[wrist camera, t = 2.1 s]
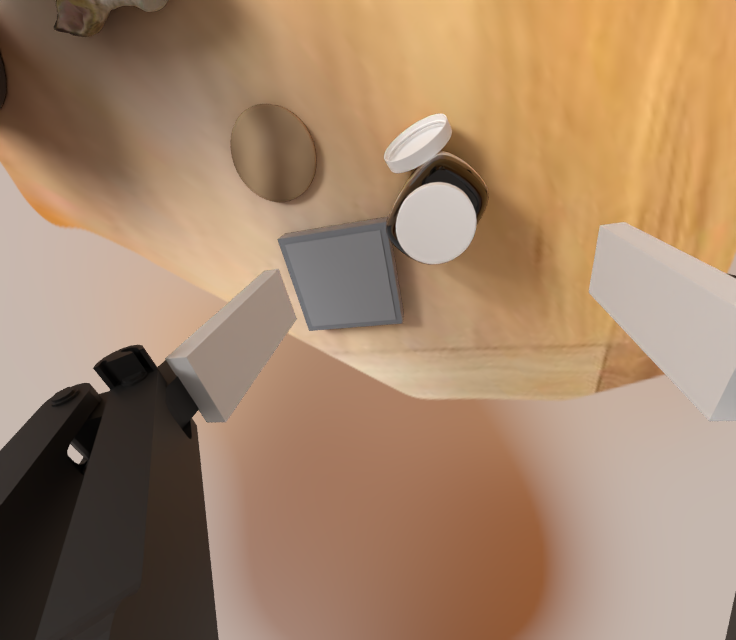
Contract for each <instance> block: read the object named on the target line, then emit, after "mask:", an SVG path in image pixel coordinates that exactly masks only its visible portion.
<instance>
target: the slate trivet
mask: <svg viewBox="0 0 736 640" xmlns="http://www.w3.org/2000/svg"><path fill="white" fill-rule="evenodd" d="M387 220H388V217H382V218H376V219H370V220H364V221H358V222H352V223H346V224H340V225H334V226H327V227H321V228H315V229H309V230H303V231H297V232H291V233H285V234H284V235H282V236H281V237H280V238H279V239H278V242H279V245H280V248H281V251H282V254H283V256H284V259H285V262H286V265H287V268H288V271H289V274H290V277H291V279H292V282H293V285H294V288H295V291H296V294H297V297H298V300H299V303H300V305H301V308H302V311H303V314H304V317H305V320H306V323H307V326H308V328H309V331H313V330H326V329H338V328H351V327H363V326H376V325H388V324H401V323H403V317H404V312H403V306H402V300H401V293H400V287H399V281H398V275H397V269H396V263H395V256H394V250H393V244H392V242H391V240H390V239H389V237H388V235H387V233H386V223H387Z"/></svg>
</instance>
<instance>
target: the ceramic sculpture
mask: <svg viewBox="0 0 736 640" xmlns="http://www.w3.org/2000/svg"><path fill="white" fill-rule="evenodd" d="M167 2H168V0H56V7H57V12H58V15H57V21H56V23H55V26H54V30H56V31H60V32H65V33H70V34H72V35H76V36H82V37H89V36H92V35H94V34H97V33H99V31H100V30H101V29H102V27H103V26H104V24H105V22H106V19H107V18H108V16H109V14H110V11H111V9H116V8H118V7H121V6H136V7H138V8H140V9H142V10H144V11H146V12H153V11H158V10H160V9H162V8H163V7H164V6H165V5H166V4H167Z"/></svg>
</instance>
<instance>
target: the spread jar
mask: <svg viewBox="0 0 736 640" xmlns="http://www.w3.org/2000/svg"><path fill="white" fill-rule="evenodd" d="M451 134H452V129H451V126H450V124H449V121H448V119H447V117H446V115H445V114H440V113H439V114H434V115H431V116H428V117H426V118H424V119H422V120H420V121H418V122H416V123H415V124H413V125H411V126H410V127H409V128H407V129H406V130H405V131H403V132H402V133H401V134H400V135H399V136H397V137H396V138H395V139H394V140H393V141H392V143H391V144H390V145H389V146H388V148H387V149H386V151H385V154H384V160H385V161H386V163H387V165H388V167H389V168H390V170H391V171H392V172H394V173H403V172H407V171H410V170H412V169H414V168H416V167H418V166H419V167H418V168H417V169H416V170H415V172H414V173H413V174H412V175H411V177H410V178H409V179H408V181H407V182H406V184H405V185H404V187H403V189H402V190H401V192H400V194H399V196H398V198H397V200H396V202H395V204H394V206H393V208H392V210H391V213H390V215H389V217H388V220H387V223H386V233H387V235H388V237H389V239H390V240H391V242H392V243H393V244H394V245H395V246H396V247H397V248H398V249H399V250H400V251H401V252H403V253H404V254H405V255H407V256H408V257H410V258H412V259H414V260H416V261H418V262H421V263H424V264H441V263H445V262H448V261H450V260H453V259H455V258H456V257H458V256H459V255H460V254H462V253H463V252H464V251H465V250H466V249H467V247H468V246H469V245H470V243H471V241H472V239H473V237H474V234H475V231H476V226H477V224H478V222H479V220H480V219H481V217H482V215H483V213H484V211H485V209H486V206H487V202H488V198H489V196H488V189H487V186H486V184H485V182H484V181H483V179H482V178H481V177H480V176H479V174H478V173H477V172H476V171H475V170H474V169H473V168H472V167H471V166H470V165H469V164H467V163H466V162H465V161H463V160H462V159H460V158H459V157H457V156H455V155H453V154H451V153H449V152H445V151H440V150H441V149H442V148H443V147H444V146H445V145H446V144H447V142H448V141H449V139H450V137H451Z"/></svg>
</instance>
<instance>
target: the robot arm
mask: <svg viewBox="0 0 736 640" xmlns="http://www.w3.org/2000/svg"><path fill="white" fill-rule="evenodd" d="M5 95H6V78H5V71H4V67H3V63H2V59H1V56H0V108H1V106H2V104H3V102H4V99H5ZM589 293H590V295H591V296H592V297H593V298H594V299H595V300H596V301H597V302H598V303H599V304H600V305H601V306H602V307H603V308H604V309H605V311H606V312H607V313H608V314H609V315H610V316H611V317H612V318H613V319H614V320H615V321H616V322H617V323H618V324H619V325H620V327H621V328H622V329H623V330H624V331H625V332H626V333H627V334H628V335H629V336H630V337H631V338H632V339H633V340H634V341H635V343H636V344H637V345H638V346H639V347H640V348H641V349H642V350H643V351H644V352H645V353H646V354H647V355H648V356H649V357H650V358H651V360H652V361H653V362H654V363H655V364H656V365H657V366H658V367H659V368H660V369H661V370H662V371H663V372H664V373H665V374H666V376H667V377H668V378H669V379H670V380H671V381H672V382H673V383H674V384H675V385H676V386H677V387H678V388H679V389H680V390H681V392H683V394H684V395H685V396H686V397H687V398H688V399H689V400H690V401H691V402H692V403H693V404H694V405H695V406H696V408H698V410H699V411H700V412H701V413H702V414H703V415H704V416H705V417H706V418H707V419H708V420H709V421H736V276H735V275H731V274H726V273H724V272H722V271H720V270H718V269H716V268H714V267H712V266H710V265H708V264H706V263H704V262H702V261H700V260H698V259H696V258H694V257H692V256H690V255H688V254H686V253H684V252H682V251H680V250H679V249H677V248H675V247H673V246H671V245H669V244H667V243H665V242H663V241H661V240H659V239H657V238H655V237H653V236H651V235H649V234H647V233H645V232H643V231H641V230H639V229H637V228H635V227H633V226H631V225H629V224H627V223H625V222H621V223H614V224H606V225H600V228H599V234H598V240H597V246H596V252H595V257H594V263H593V269H592V275H591V281H590V287H589ZM296 319H297V318H296V316H295V313H294V310H293V307H292V305H291V302H290V299H289V296H288V294H287V291H286V288H285V285H284V283H283V280H282V277H281V274H280V271H279V269H275V270H267V271H263V272H262V273H261V274H260V275H259V276H258V277H257V278H256V279H254V280H253V281H252V282H251V283H250V284H249V285H248V286H247V287H245V288H244V289H243V290H242V291H241V292H240V293H239V294H237V295H236V296H235V297H234V298H233V299H232V300H231V301H230V302H228V303H227V304H226V305H225V306H224V307H223V308H222V309H221V310H220V311H218V312H217V313H216V314H215V315H214V316H213V317H211V318H210V319H209V320H208V321H207V322H206V323H205V324H204V325H202V326H201V327H200V328H199V329H198V330H197V331H196V332H195V333H193V334H192V335H191V336H190V337H189V338H188V339H187V340H186V341H184V342H183V343H182V344H181V345H180V346H179V347H178V348H176V349H175V350H174V351H173V352H172V353H171V354H170V355H169V356H167V357H166V358H165V359H166V360H165V361H164V362H163V363H162V364H161V365H160V366H158V367H157V366H156V365H155V363H154V362H153V360H152V359H151V357H150V356H149V355H148V353H147V352H146V350H145V349H144V347H143V346H142V345H133V346H128V347H126V348H122V349H120V350H118V351H115V352H113V353H111V354H110V355H108V356H106V357H104V358H103V359H102V360H100V361H99V362H98V363H97V364H96V365H95V366H94V368H93V369H94V370H95V371H96V372H97V374H98V375H99V376H100V377H101V378H102V380H103V381H104V382H105V383H106V385H107V386H108V387H109V388H110V391H109V392H105V393H101V394H98V393H97V392H96V390H95V389H94V388H93V387H92V386H91V385H90V384H89V383H82V384H78V385H75V386H72V387H67V388H65V389H63V390H61V391H59V392H57V393H56V394H55V395H54V396H53V397H52V398H50V399H49V400H47V401H46V402H45V403H44V404H43V405H42V406H41V407H40V408H39V409H38V410H37V411H36V413H35V414H34V415H33V416H32V417H31V418H30V419H29V420H28V421H27V422H26V423H25V424H24V426H23V427H22V428H21V429H20V430H19V431H18V432H17V433H16V434H15V435H14V436H13V437H12V439H11V440H10V441H9V442H8V443H7V444H6V445H5V446H4V447H3V448H2V449H1V451H0V640H219V639H218V630H217V620H216V610H215V601H214V590H213V580H212V571H211V561H210V551H209V542H208V531H207V521H206V511H205V501H204V491H203V482H202V472H201V462H200V452H199V442H198V432H197V426H196V424H195V422H194V421H193V419H192V417H193V416H194V415H195V413H196V412H197V411H198V410H199V411H200V413H201V414H202V416H203V417H204V419H205V420H206V422H226V421H227V420H228V419H229V417H230V416H231V414H232V413H233V411H234V410H235V408H236V407H237V405H238V404H239V402H240V401H241V400H242V398H243V397H244V395H245V394H246V392H247V391H248V389H249V388H250V386H251V385H252V383H253V382H254V380H255V379H256V378H257V376H258V375H259V373H260V372H261V370H262V369H263V367H264V366H265V365H266V363H267V361H268V360H269V359H270V357H271V355H272V354H273V353H274V351H275V350H276V348H277V347H278V346H279V344H280V343H281V341H282V340H283V338H284V337H285V335H286V334H287V332H288V331H289V330H290V328H291V327H292V325H293V324H294V322H295V321H296ZM70 444H71V445H72V446H73V447H74V448H75V449H76V450H77V451H78V452H79V453H80V454H81V455H82V456H83V459H82V461H81V462H80V464H77V463H75V462H74V461H73V460H72V459H71V458H70V457H69V456H68V455H67V450H68V447H69V445H70ZM725 640H736V593H735V598H734V602H733V607H732V612H731V616H730V621H729V626H728V630H727V635H726V639H725Z"/></svg>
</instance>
